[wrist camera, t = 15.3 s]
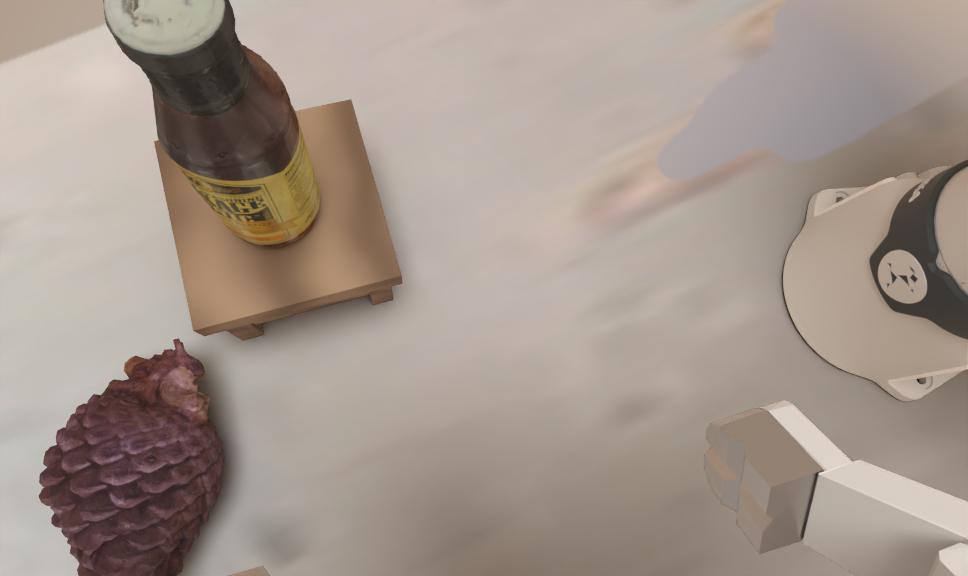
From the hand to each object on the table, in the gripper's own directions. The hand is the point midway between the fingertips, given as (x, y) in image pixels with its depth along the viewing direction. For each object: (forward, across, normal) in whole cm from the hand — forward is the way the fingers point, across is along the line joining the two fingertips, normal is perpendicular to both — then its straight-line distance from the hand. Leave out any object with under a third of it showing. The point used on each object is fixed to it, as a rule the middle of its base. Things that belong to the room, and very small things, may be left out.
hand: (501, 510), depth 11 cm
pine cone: (+29, +19, +23) cm, 41 cm away
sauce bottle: (+32, +6, +7) cm, 34 cm away
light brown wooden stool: (+38, +7, +13) cm, 41 cm away
